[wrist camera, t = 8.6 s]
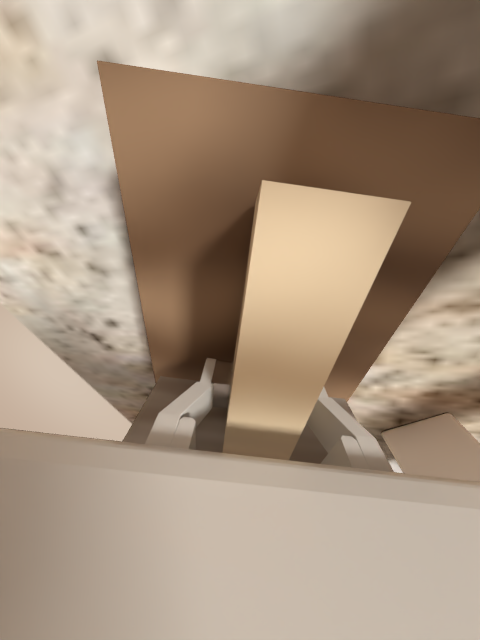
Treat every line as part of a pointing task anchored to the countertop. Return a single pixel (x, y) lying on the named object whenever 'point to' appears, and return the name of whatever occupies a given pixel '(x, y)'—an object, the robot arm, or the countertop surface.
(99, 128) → the countertop surface
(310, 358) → the scraper
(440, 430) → the medicine bottle
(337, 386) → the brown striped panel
